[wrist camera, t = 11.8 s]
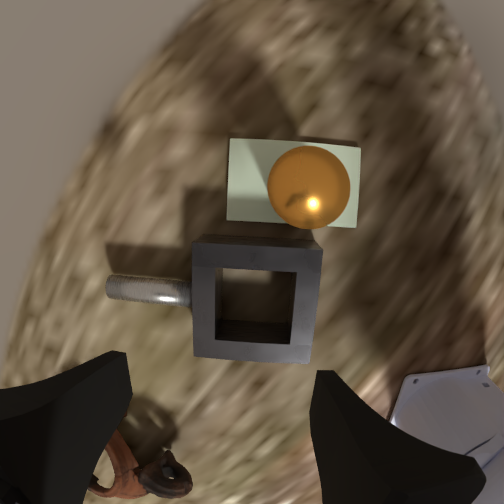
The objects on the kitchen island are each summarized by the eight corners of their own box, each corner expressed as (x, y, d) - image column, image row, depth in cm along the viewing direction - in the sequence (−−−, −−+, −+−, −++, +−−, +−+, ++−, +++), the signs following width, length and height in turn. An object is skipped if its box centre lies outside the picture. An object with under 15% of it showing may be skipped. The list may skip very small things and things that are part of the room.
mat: (358, 148, 18) (360, 147, 18) (354, 227, 19) (356, 227, 19) (230, 139, 18) (230, 138, 18) (227, 219, 19) (226, 220, 19)
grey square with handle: (314, 240, 19) (323, 249, 16) (304, 341, 21) (309, 363, 18) (118, 230, 20) (96, 237, 17) (124, 325, 21) (107, 343, 18)
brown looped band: (116, 465, 26) (62, 484, 18) (113, 391, 28) (54, 397, 21) (212, 500, 22) (166, 539, 15) (214, 416, 25) (162, 441, 17)
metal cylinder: (320, 215, 19) (347, 231, 12) (267, 212, 19) (265, 227, 12) (322, 163, 18) (351, 149, 11) (269, 159, 18) (268, 143, 11)
